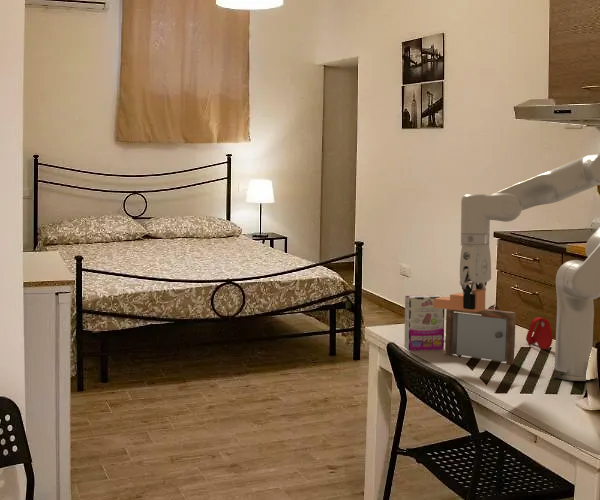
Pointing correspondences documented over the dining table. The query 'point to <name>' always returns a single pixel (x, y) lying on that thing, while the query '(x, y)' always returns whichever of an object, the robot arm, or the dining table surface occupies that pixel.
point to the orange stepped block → (461, 301)
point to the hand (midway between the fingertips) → (474, 306)
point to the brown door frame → (488, 312)
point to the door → (480, 336)
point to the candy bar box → (423, 323)
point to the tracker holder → (540, 333)
